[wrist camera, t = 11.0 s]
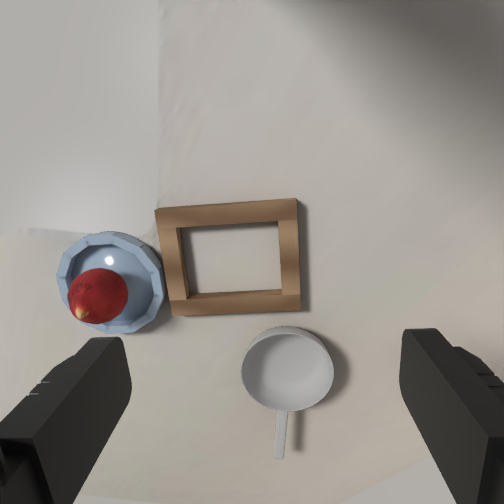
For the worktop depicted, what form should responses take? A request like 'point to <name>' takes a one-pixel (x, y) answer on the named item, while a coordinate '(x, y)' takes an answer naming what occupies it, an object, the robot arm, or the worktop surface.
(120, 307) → the onion
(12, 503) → the robot arm
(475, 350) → the worktop surface
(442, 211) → the worktop surface
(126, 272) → the dish
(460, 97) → the worktop surface
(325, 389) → the saucepan
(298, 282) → the frame
